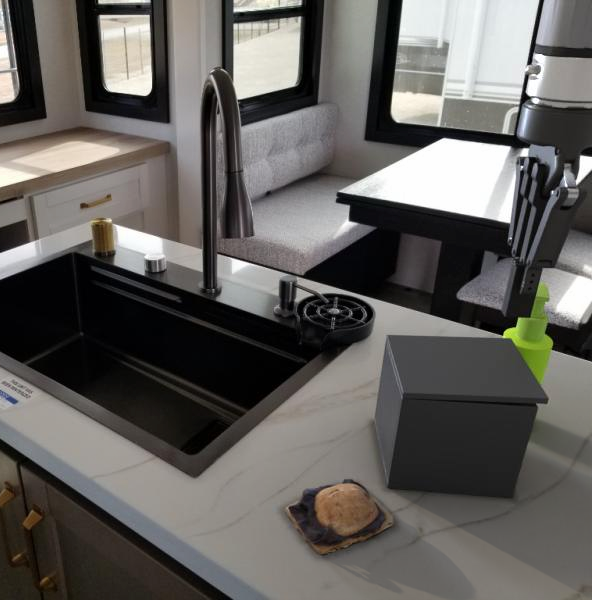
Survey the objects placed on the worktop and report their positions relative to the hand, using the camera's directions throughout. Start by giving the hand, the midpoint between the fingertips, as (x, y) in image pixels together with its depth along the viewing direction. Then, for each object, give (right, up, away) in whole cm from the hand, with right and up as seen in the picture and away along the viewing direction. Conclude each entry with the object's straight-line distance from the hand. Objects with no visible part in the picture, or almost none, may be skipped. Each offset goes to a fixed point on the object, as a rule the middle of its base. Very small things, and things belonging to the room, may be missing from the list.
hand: (515, 314), depth 73 cm
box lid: (-5, -7, +4) cm, 9 cm away
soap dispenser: (+8, -15, +18) cm, 25 cm away
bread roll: (-20, -24, +1) cm, 31 cm away
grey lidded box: (-5, -19, +10) cm, 22 cm away
